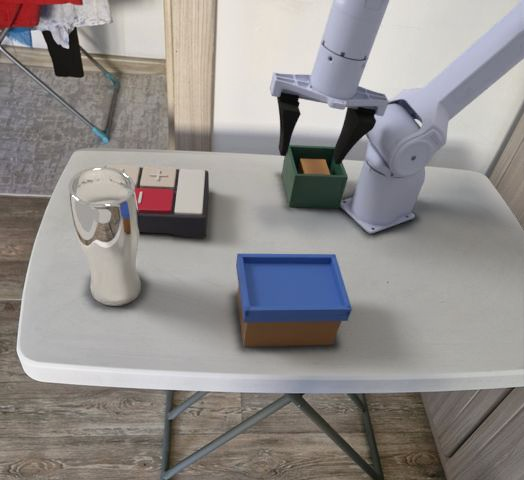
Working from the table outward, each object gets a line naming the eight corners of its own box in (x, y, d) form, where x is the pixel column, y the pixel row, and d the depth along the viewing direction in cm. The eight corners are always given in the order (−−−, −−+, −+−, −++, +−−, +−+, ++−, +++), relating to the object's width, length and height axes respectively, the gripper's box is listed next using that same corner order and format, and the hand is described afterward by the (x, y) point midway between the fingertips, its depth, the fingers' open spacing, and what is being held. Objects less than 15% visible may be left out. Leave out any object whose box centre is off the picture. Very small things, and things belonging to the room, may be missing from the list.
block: (320, 181, 84) (325, 159, 81) (324, 197, 82) (330, 174, 79) (295, 180, 84) (300, 158, 80) (299, 196, 81) (304, 173, 78)
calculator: (103, 160, 75) (208, 165, 76) (108, 186, 79) (209, 190, 80) (89, 208, 68) (205, 213, 70) (95, 234, 72) (206, 238, 73)
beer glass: (143, 268, 68) (136, 165, 56) (145, 307, 64) (137, 206, 52) (87, 269, 67) (67, 165, 55) (86, 310, 63) (64, 207, 51)
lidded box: (323, 294, 69) (335, 254, 64) (337, 347, 64) (352, 309, 58) (232, 294, 67) (237, 253, 62) (239, 350, 62) (245, 310, 56)
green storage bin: (328, 177, 86) (336, 146, 82) (339, 208, 81) (348, 177, 77) (281, 175, 85) (286, 144, 80) (288, 207, 80) (294, 175, 76)
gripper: (289, 51, 56) (260, 165, 66) (412, 76, 59) (366, 180, 69) (280, 24, 60) (254, 135, 70) (395, 49, 64) (354, 151, 74)
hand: (309, 156), depth 70 cm, fingers open, 7 cm apart
